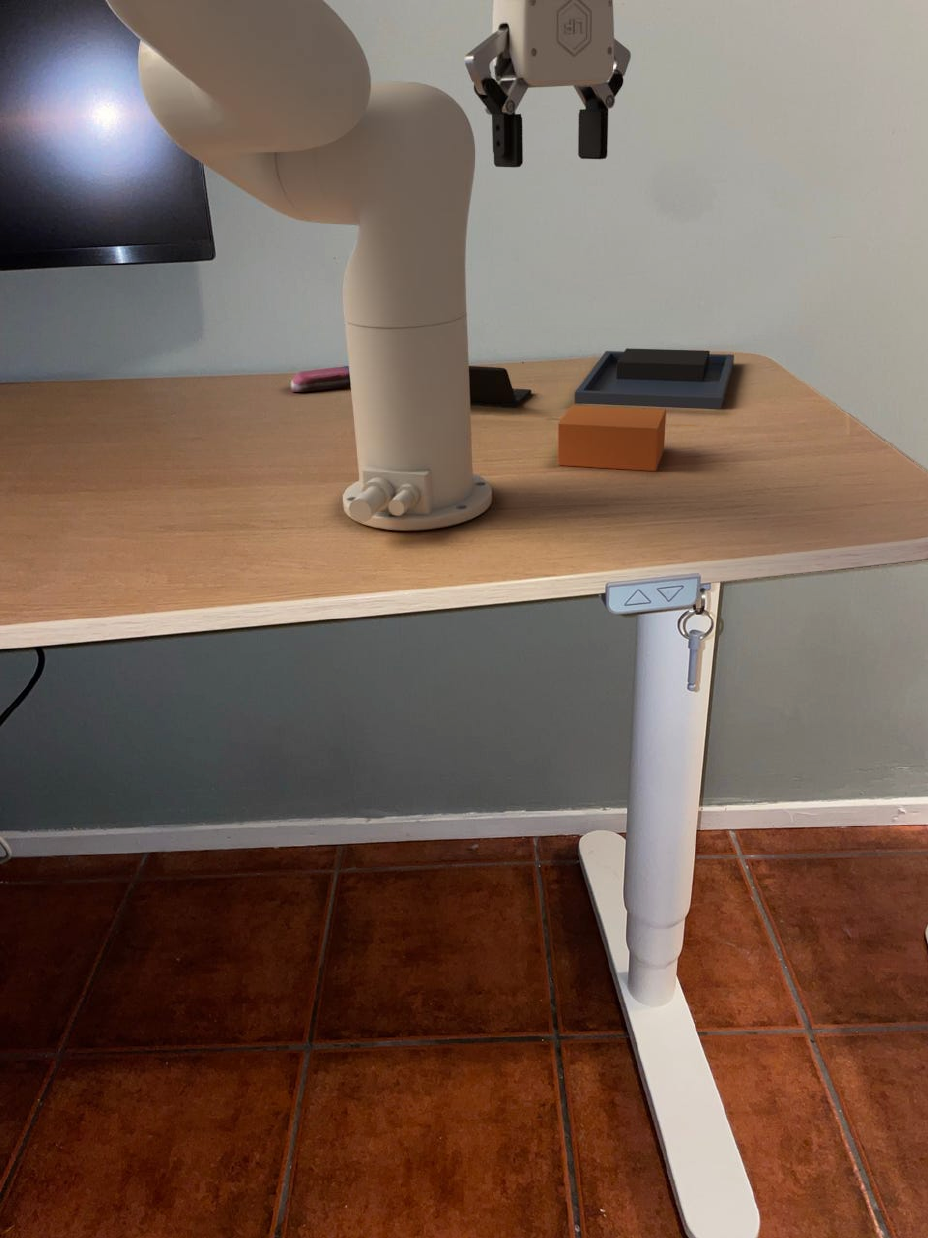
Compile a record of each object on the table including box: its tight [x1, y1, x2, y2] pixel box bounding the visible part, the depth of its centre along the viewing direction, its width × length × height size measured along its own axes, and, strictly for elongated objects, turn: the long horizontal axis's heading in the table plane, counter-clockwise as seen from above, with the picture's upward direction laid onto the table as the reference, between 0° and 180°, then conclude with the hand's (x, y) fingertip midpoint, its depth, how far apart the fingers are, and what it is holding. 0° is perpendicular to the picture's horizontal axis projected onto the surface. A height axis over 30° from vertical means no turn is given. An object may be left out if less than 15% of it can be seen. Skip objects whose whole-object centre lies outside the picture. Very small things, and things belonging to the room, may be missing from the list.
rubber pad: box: [616, 347, 711, 382], centre depth 118 cm, size 7×10×2 cm
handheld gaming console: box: [469, 365, 532, 409], centre depth 110 cm, size 12×7×10 cm
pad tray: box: [574, 350, 735, 410], centre depth 115 cm, size 20×16×2 cm
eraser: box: [289, 365, 351, 393], centre depth 121 cm, size 11×4×2 cm, turn 104°
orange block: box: [557, 405, 667, 472], centre depth 93 cm, size 6×9×4 cm, turn 73°
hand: (551, 162), depth 88 cm, fingers open, 9 cm apart
